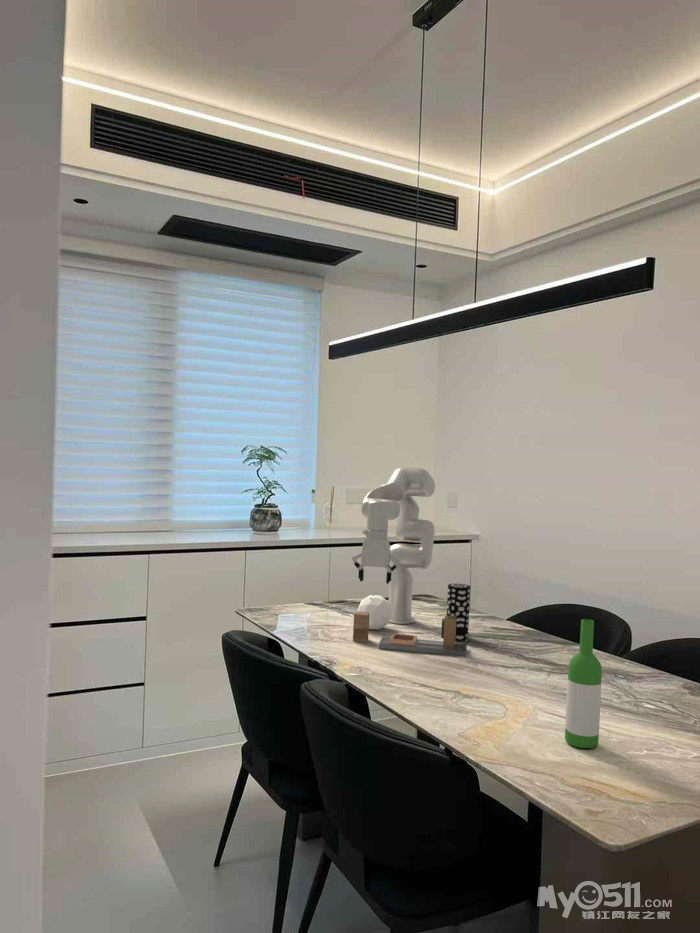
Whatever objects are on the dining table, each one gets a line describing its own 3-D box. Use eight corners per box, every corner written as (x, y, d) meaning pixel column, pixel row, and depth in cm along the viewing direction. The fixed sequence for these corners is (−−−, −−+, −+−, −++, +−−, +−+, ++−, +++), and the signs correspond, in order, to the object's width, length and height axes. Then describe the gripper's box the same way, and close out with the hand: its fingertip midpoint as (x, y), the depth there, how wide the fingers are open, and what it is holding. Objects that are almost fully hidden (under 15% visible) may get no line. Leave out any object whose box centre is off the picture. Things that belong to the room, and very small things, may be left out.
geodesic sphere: (389, 621, 266) (392, 588, 274) (352, 618, 268) (357, 585, 276) (391, 637, 277) (394, 605, 285) (356, 634, 280) (360, 602, 288)
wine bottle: (591, 738, 176) (597, 617, 176) (603, 751, 168) (609, 624, 168) (560, 737, 176) (566, 615, 175) (570, 750, 168) (577, 623, 168)
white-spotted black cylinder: (461, 643, 262) (463, 588, 262) (441, 638, 267) (443, 585, 267) (471, 638, 268) (474, 585, 268) (452, 634, 274) (454, 582, 273)
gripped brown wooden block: (366, 642, 257) (367, 614, 257) (352, 641, 258) (354, 613, 257) (368, 639, 261) (369, 612, 261) (355, 637, 262) (356, 610, 262)
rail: (382, 641, 259) (384, 608, 258) (466, 649, 253) (468, 615, 253) (378, 648, 249) (380, 614, 249) (465, 657, 243) (467, 622, 243)
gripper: (351, 534, 256) (349, 581, 256) (399, 537, 252) (396, 585, 252) (355, 532, 263) (353, 578, 263) (402, 535, 260) (399, 582, 260)
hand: (374, 582), depth 258 cm, fingers open, 9 cm apart
